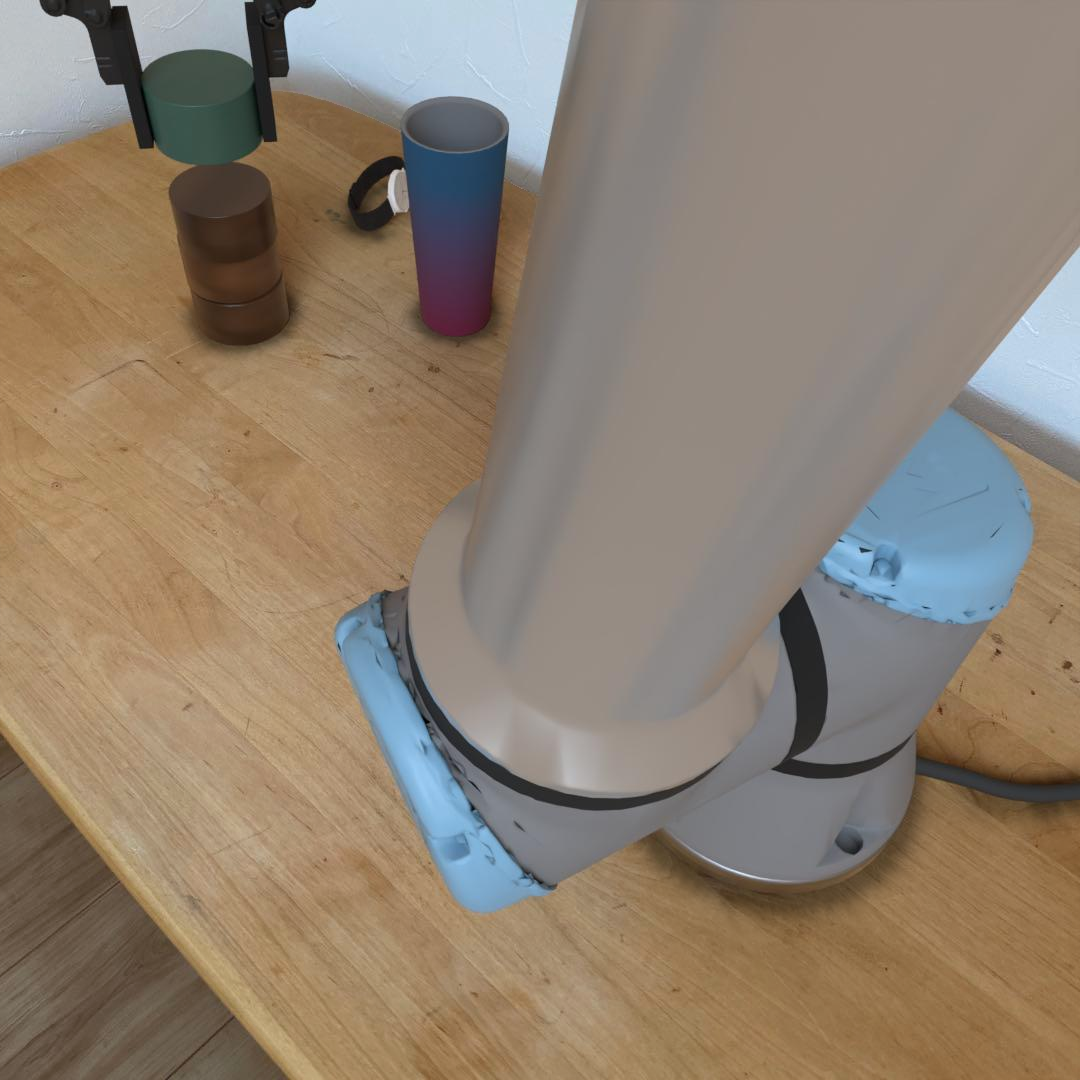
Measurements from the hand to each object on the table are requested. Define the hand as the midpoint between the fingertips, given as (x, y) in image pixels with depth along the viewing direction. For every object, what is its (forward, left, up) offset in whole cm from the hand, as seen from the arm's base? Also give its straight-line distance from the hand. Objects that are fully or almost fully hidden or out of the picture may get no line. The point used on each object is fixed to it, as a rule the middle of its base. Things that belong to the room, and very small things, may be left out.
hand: (208, 131), depth 60 cm
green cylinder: (0, 0, 0) cm, 0 cm away
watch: (0, -21, -15) cm, 25 cm away
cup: (-11, -10, -18) cm, 23 cm away
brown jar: (+3, -4, -17) cm, 18 cm away
